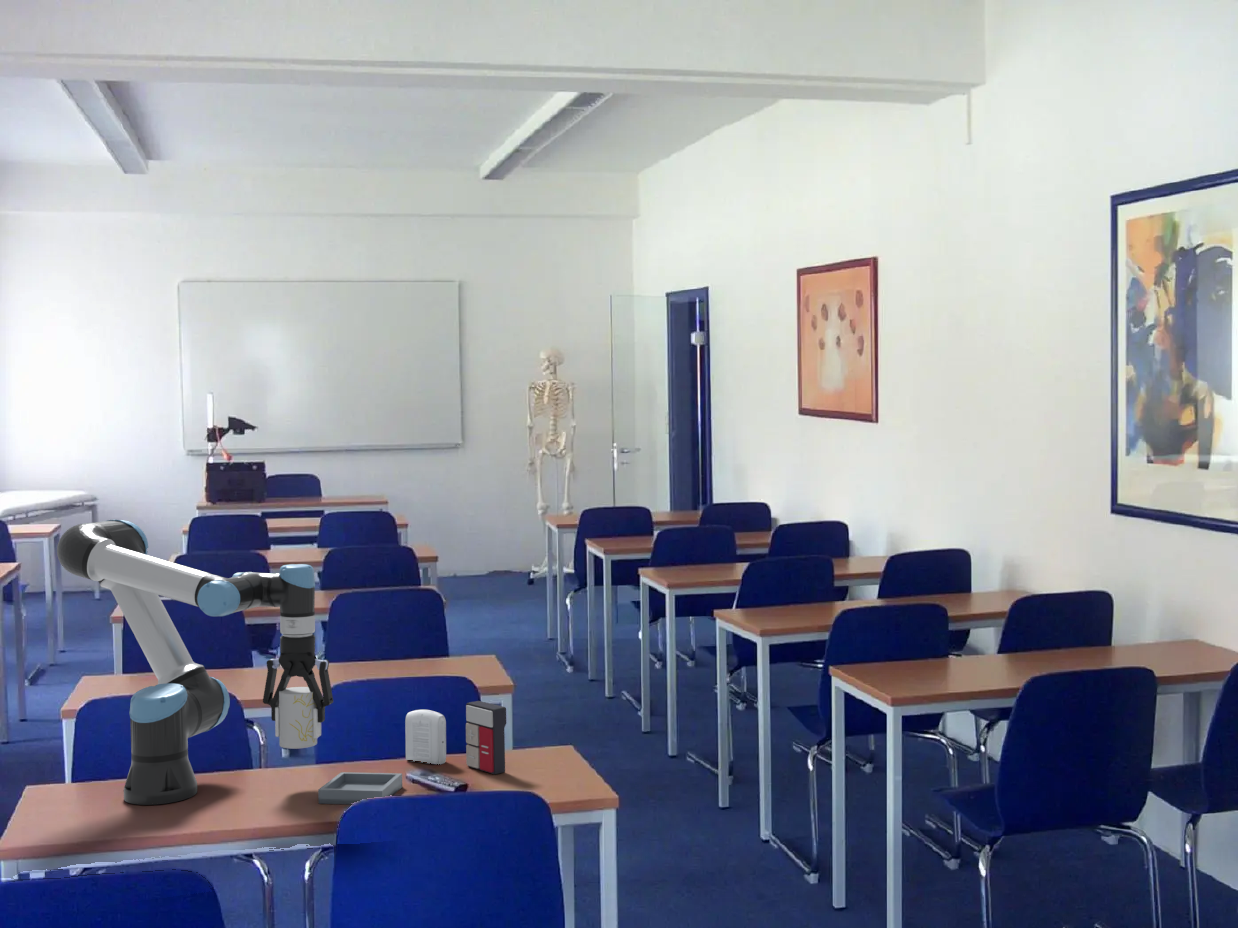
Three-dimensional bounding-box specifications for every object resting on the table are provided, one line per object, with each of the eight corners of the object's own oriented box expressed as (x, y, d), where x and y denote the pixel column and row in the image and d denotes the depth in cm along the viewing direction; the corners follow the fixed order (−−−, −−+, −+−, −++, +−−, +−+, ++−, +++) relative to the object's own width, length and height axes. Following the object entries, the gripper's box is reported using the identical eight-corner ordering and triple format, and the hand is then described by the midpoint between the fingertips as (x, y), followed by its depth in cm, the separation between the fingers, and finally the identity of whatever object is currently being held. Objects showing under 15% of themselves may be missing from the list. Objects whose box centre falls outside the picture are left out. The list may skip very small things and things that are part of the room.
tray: (318, 803, 275) (318, 789, 275) (341, 785, 289) (341, 772, 289) (382, 804, 273) (382, 790, 273) (402, 786, 287) (402, 773, 287)
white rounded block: (449, 761, 309) (448, 709, 308) (439, 765, 305) (438, 713, 305) (413, 757, 313) (412, 706, 313) (403, 761, 309) (401, 710, 309)
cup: (295, 750, 283) (295, 695, 283) (271, 744, 288) (271, 691, 288) (324, 743, 290) (324, 689, 290) (301, 737, 295) (300, 685, 294)
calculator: (464, 766, 304) (463, 703, 303) (479, 763, 306) (478, 700, 306) (492, 775, 295) (491, 710, 295) (507, 772, 298) (506, 707, 298)
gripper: (245, 635, 286) (246, 738, 287) (337, 638, 283) (337, 741, 284) (259, 630, 293) (260, 730, 294) (348, 632, 291) (349, 733, 291)
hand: (298, 735), depth 289 cm, fingers closed on cup, 8 cm apart
